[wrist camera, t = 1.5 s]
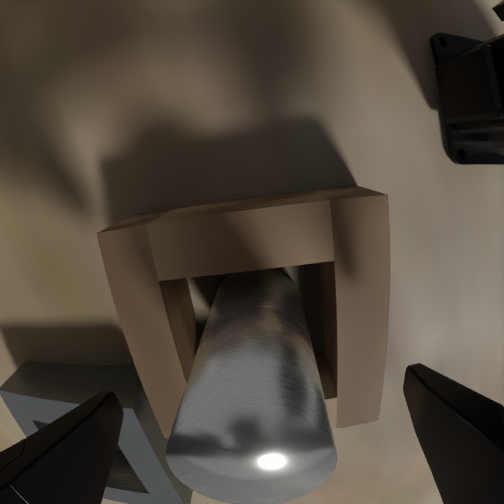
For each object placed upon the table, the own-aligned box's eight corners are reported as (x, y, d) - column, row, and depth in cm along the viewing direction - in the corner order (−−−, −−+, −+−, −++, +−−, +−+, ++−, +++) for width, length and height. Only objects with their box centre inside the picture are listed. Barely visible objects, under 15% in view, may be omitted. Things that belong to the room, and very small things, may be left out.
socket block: (357, 186, 13) (387, 194, 10) (360, 376, 16) (378, 420, 13) (132, 215, 14) (96, 233, 11) (179, 394, 17) (165, 438, 13)
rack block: (153, 366, 16) (132, 408, 13) (196, 473, 19) (188, 510, 15) (25, 361, 17) (-3, 389, 13) (81, 459, 19) (66, 488, 16)
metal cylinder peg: (296, 261, 14) (339, 400, 6) (303, 338, 15) (333, 497, 7) (207, 271, 15) (142, 412, 6) (222, 347, 16) (190, 504, 7)
